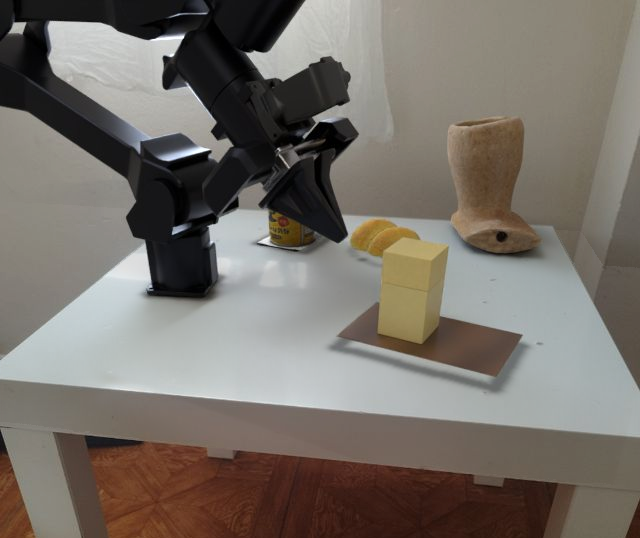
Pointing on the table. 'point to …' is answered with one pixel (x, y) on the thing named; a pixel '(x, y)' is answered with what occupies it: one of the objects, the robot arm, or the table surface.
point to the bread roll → (379, 236)
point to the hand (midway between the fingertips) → (343, 239)
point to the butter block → (409, 311)
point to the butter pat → (414, 263)
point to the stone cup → (488, 183)
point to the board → (442, 342)
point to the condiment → (288, 233)
